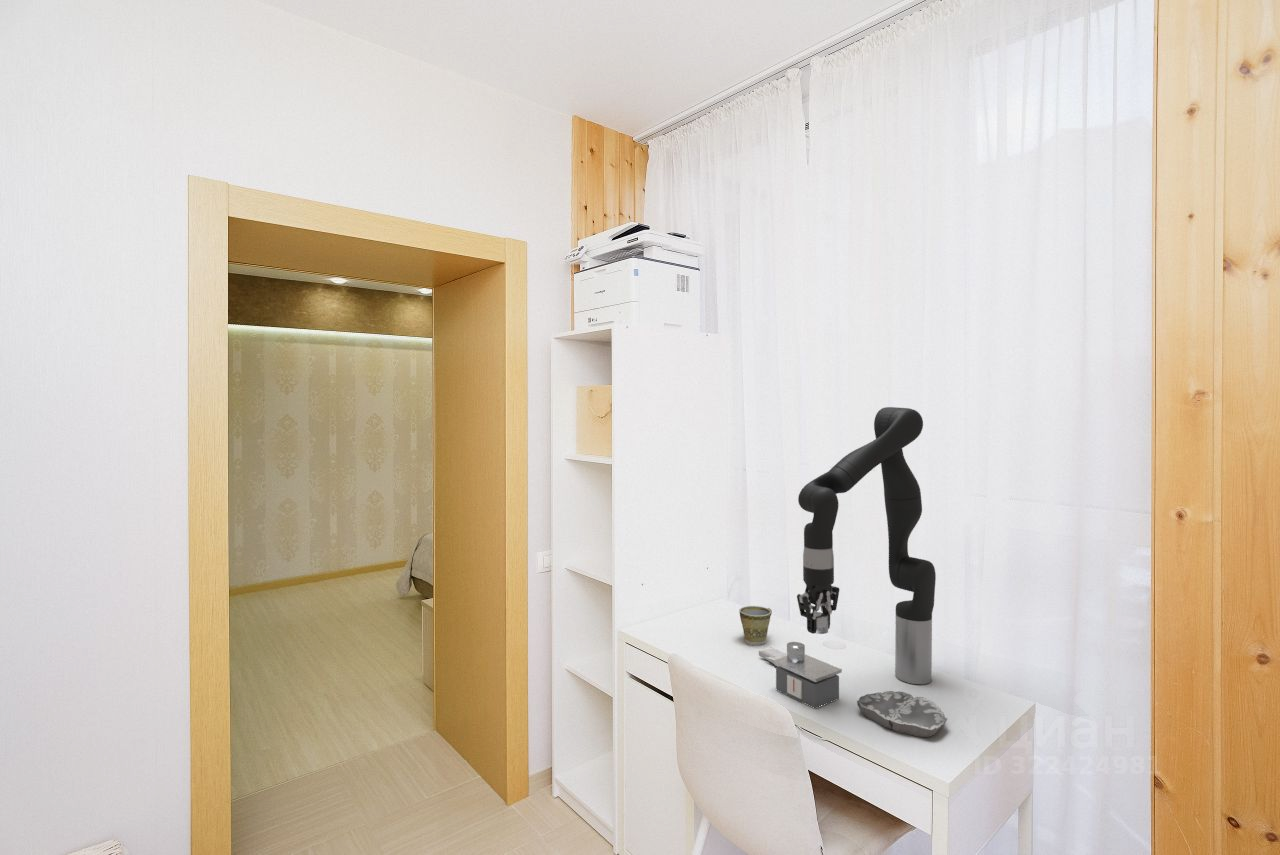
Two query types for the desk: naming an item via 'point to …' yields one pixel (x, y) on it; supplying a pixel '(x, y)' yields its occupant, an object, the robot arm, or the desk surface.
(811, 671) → the pan
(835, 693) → the scale
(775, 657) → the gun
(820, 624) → the cylinder
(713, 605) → the desk surface
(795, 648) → the cylinder
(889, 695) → the brain slice
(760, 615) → the ceramic cup
